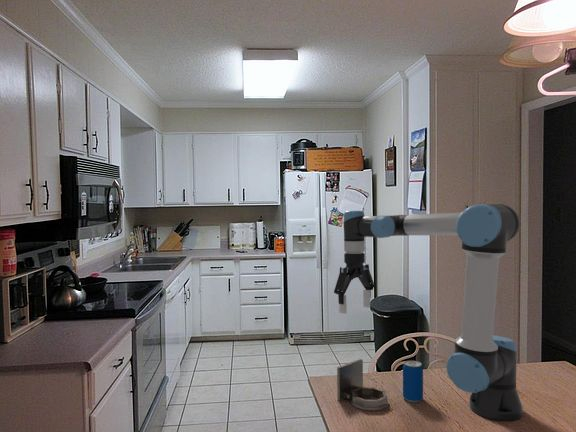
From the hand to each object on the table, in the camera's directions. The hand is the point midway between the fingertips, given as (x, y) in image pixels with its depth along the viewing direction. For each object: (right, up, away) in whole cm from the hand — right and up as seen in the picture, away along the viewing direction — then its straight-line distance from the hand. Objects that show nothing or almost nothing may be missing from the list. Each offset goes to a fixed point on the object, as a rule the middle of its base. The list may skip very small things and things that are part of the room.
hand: (355, 310), depth 167 cm
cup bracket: (+1, -26, -18) cm, 32 cm away
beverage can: (+17, -27, -16) cm, 35 cm away
